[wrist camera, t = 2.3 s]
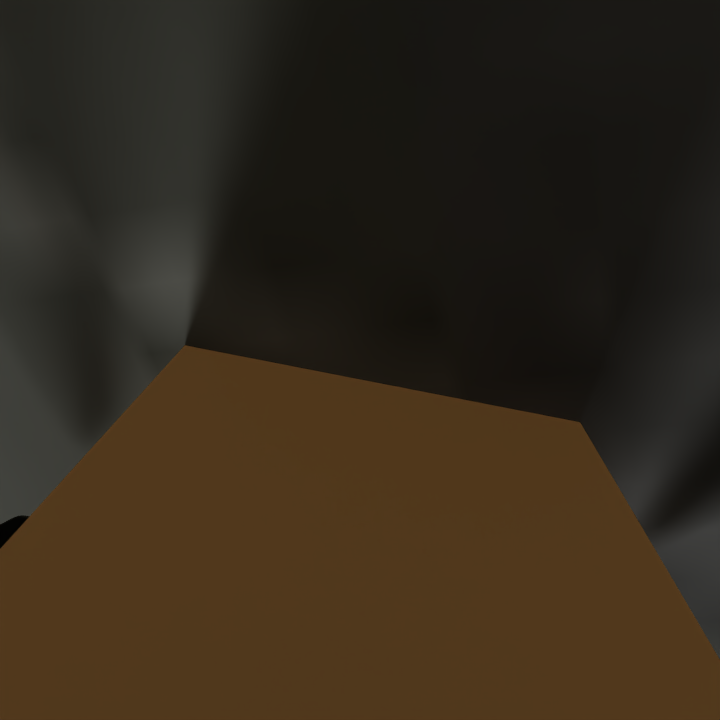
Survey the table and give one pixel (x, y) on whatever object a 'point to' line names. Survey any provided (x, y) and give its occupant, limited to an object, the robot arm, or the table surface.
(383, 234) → the table surface
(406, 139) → the table surface
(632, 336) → the table surface
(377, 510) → the cube
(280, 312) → the table surface
